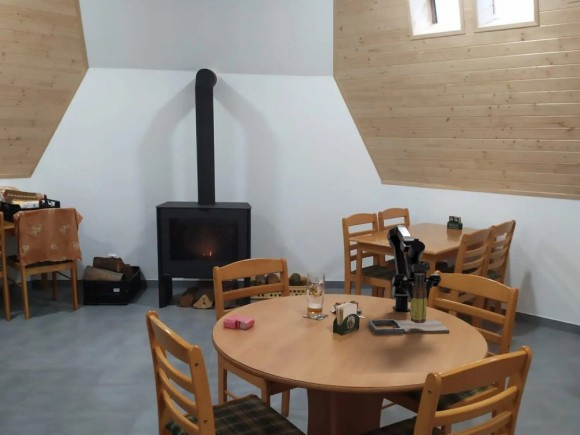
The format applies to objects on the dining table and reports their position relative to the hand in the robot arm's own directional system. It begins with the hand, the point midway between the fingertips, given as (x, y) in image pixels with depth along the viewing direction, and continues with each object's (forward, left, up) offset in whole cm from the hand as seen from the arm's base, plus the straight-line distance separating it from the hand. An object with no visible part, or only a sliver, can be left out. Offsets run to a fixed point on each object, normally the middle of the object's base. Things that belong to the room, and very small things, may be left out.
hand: (419, 299), depth 201 cm
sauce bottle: (-1, 0, -10) cm, 10 cm away
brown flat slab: (-4, +3, -13) cm, 14 cm away
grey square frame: (-3, -12, -13) cm, 18 cm away
